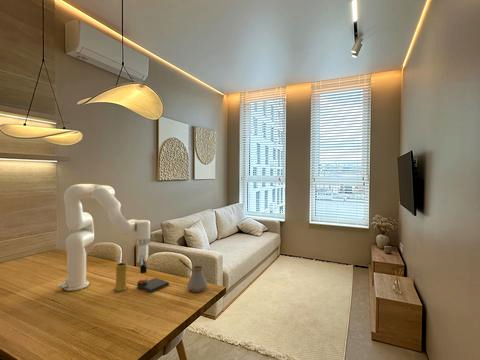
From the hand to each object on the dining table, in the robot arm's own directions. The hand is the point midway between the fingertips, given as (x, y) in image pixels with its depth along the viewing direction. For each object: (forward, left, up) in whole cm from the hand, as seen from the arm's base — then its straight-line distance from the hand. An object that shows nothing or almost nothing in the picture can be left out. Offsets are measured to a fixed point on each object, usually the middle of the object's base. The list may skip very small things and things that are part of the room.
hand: (143, 272), depth 154 cm
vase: (-9, +8, -9) cm, 15 cm away
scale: (+4, -4, -9) cm, 10 cm away
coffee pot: (+16, -23, -9) cm, 29 cm away
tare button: (0, 0, -6) cm, 6 cm away
